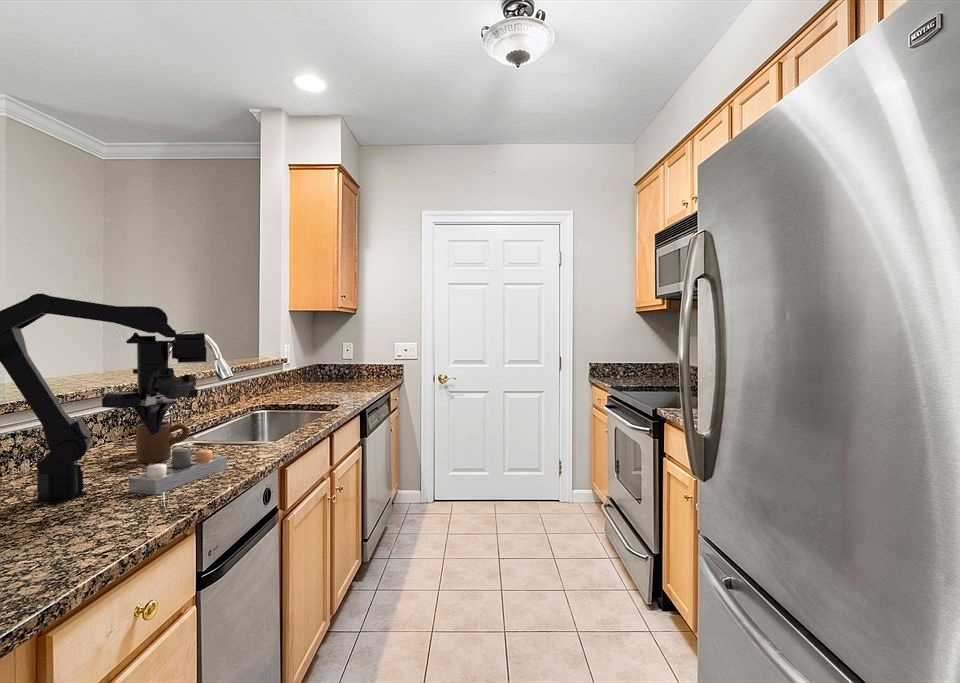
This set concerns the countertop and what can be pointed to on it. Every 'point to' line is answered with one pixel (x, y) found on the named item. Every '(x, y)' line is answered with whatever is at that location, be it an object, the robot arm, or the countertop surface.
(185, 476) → the button strip
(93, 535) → the countertop surface
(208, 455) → the button orange
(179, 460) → the button charcoal
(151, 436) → the mug
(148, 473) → the button ivory
